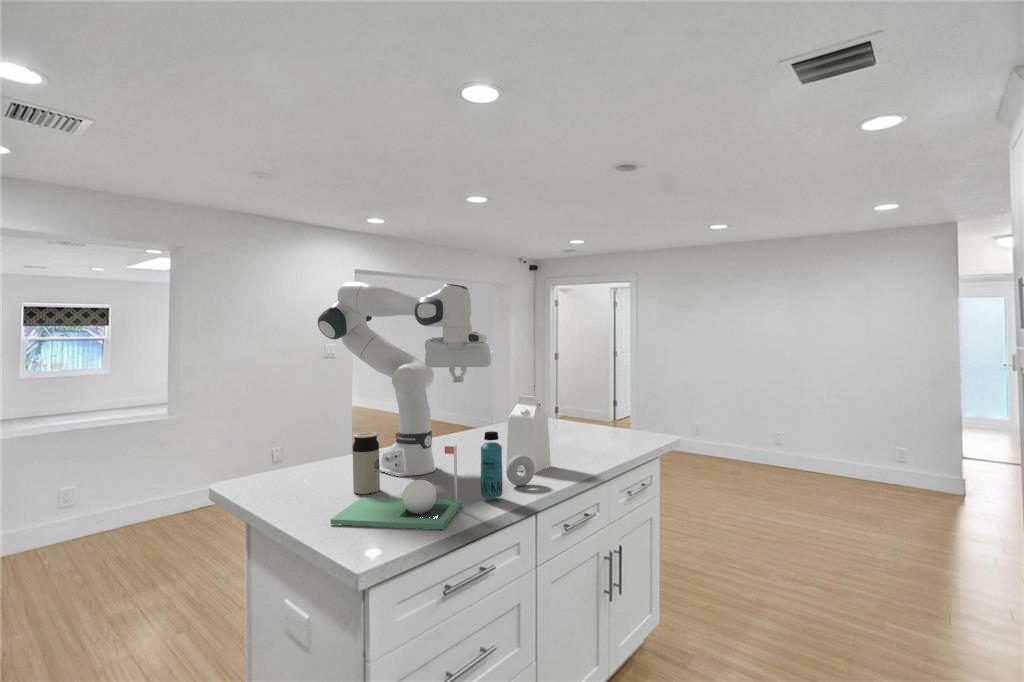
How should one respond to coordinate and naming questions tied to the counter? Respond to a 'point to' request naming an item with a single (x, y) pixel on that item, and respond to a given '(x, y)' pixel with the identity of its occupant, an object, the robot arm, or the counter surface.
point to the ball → (419, 496)
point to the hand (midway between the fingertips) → (458, 382)
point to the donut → (513, 466)
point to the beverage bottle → (491, 467)
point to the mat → (400, 510)
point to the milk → (528, 433)
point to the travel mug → (366, 463)
